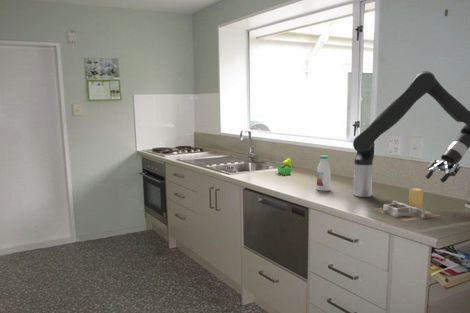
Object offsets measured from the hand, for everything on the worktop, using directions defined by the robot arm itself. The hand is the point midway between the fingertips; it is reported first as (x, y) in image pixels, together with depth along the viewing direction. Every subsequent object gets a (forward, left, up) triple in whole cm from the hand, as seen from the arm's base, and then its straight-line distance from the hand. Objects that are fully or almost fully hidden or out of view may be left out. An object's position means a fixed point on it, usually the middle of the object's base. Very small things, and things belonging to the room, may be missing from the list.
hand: (434, 179), depth 180 cm
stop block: (0, -10, -14) cm, 17 cm away
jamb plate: (0, -16, -15) cm, 22 cm away
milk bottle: (-57, -23, -15) cm, 63 cm away
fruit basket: (-110, -21, -15) cm, 113 cm away
